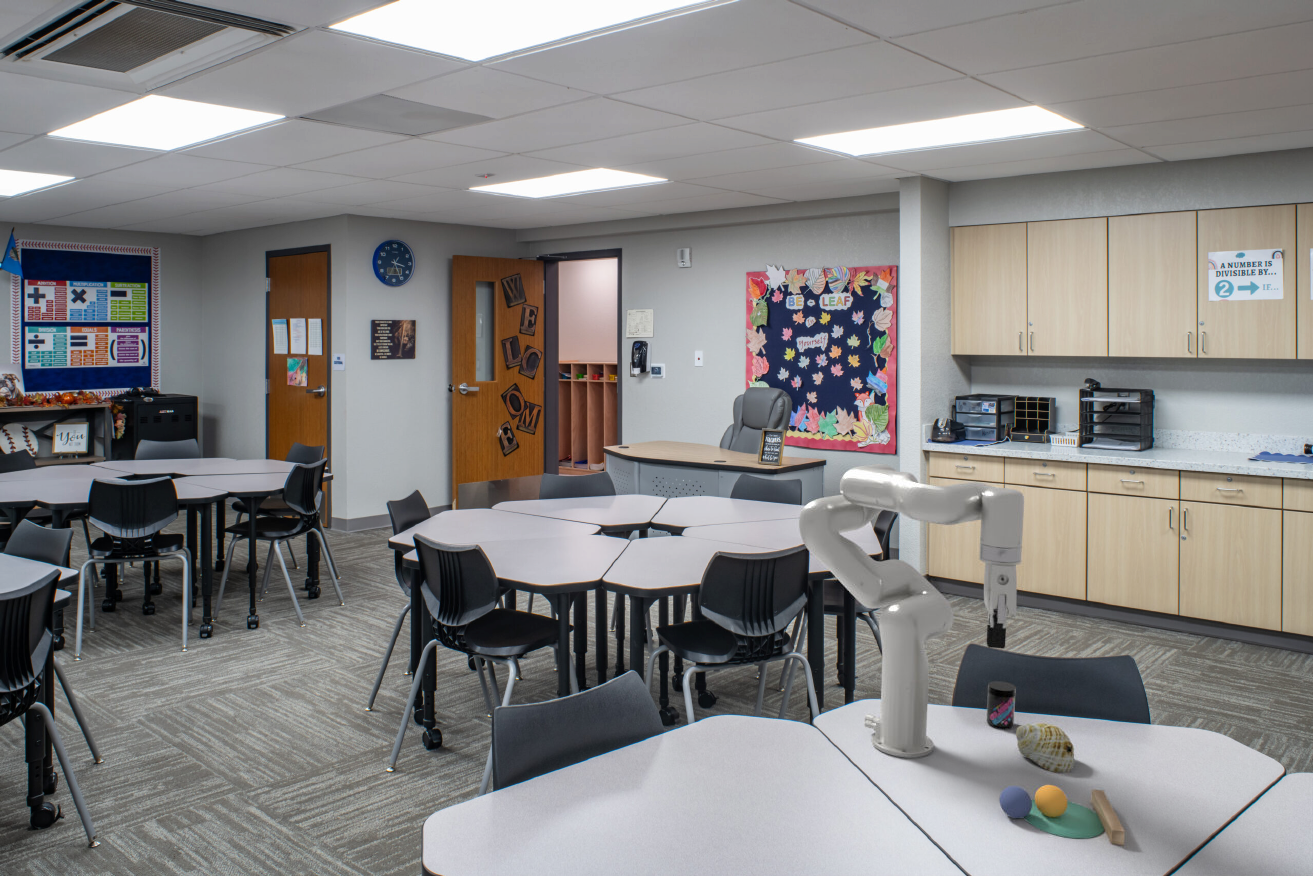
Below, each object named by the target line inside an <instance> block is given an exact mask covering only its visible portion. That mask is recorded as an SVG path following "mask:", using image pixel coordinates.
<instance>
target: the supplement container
mask: <svg viewBox="0 0 1313 876" xmlns="http://www.w3.org/2000/svg"><path fill="white" fill-rule="evenodd" d="M1016 689H1017V687H1016V686H1015V685H1014V684H1012V683H1010V682H1007V681H999V680H998V681H996V680H994V681H990V682H988V684H987V703H986V704H987V705H986V722H987V724H988V726H990V727H992V728H993V729H998V730H1010V729H1011V728H1013V727H1014V725H1015V707H1016V695H1017V693H1016V691H1017V690H1016Z"/></svg>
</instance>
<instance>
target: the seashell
mask: <svg viewBox="0 0 1313 876" xmlns="http://www.w3.org/2000/svg"><path fill="white" fill-rule="evenodd" d="M1015 732H1016V734H1015V736H1016V737H1015V738H1016V741H1017V748H1018V751H1019V752H1020V754H1021V755H1022V756H1023V757H1024V758H1027V759H1030V760H1031V761H1033V762H1034V763H1036V764H1037V765H1038V766H1040V767H1041V768H1043V769H1045V770H1048V771H1050V772H1054V773H1058V772H1061V773H1069V772H1071V771H1073V769H1074V766H1075V762H1076V759H1075V748H1074V745H1073V743H1072V741H1071V738H1069V736H1068V735H1067V734H1066V733H1065V731H1063V729H1061V728H1060V727H1058V726H1056V725H1053V724H1050V723H1046V722H1045V723H1043V722H1040V723H1032V724H1031V723H1028V724H1023V725H1020V726H1018V727H1017V728H1016V731H1015Z"/></svg>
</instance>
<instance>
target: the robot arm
mask: <svg viewBox="0 0 1313 876" xmlns="http://www.w3.org/2000/svg"><path fill="white" fill-rule="evenodd" d="M839 491H840V493H841V494H839V495H832V496H825V497H820V498H817V499H814V500H812V501H810V502H808V503H807V504H806V505H805V506H803V507H802V510H801V511H800V513H799V517H798V529H799V530H798V531H799V533H800V537H801V540H802V542H803V544H804V546H805V547H806V549H807V550H808V551H809V553H810V554H812V555H813V557H814V558H815V559H816V560H818V561H819V562H820V563H821V564H822V565H823V566H824V567H825V568H826V569H827V570H829V571H830V572H831V574H832V575H834V577H835V578H836V579H837V580H838V581H839V582H840V584H842V585H843V587H844V588H845V589H846V590H847V591H849V593H850V594H851V595H852V596H853V597H854V598H855V599H856V601H858V603H860V604H861V605H862V606H863V607H865V608H867V609H873V610H874V609H880V608H884V607H885V608H884V609H883V610H882V612H881V614H880V617H879V621H878V625H879V626H878V628H879V636H880V640H881V641H880V643H881V650H882V652H881V654H882V658H881V665H882V666H881V691H880V692H881V693H880V695H881V697H880V717H876V716H875V715H871V714H866V715H865V717H864V727H865V728H868V729H872V730H873V731H874V733H873V735H872V737H871V742H872V745H873V746H874V747H875V748H876V749H877V750H879V751H880V752H883V753H884V754H887V755H891V756H894V757H899V758H906V759H907V758H908V759H910V758H922V757H925V756H927V755H929V754H931V753H932V752H933V751H934V741H933V740H932V739H931V738H930V736H928V735H927V730H928V729H927V726H928V704H929V703H928V702H929V701H928V699H929V682H930V681H929V677H930V676H929V675H930V674H929V671H930V670H929V669H930V665H929V658H928V655H927V653H926V651H925V650H926V649H925V645H924V644H925V642H927V641H930V640H933V639H936V638H939V637H941V636H943V635H945V634H947V633H948V632H949V631H950V630H951V629H952V626H953V624H954V620H955V619H954V616H955V615H954V611H953V609H952V607H951V604H950V603H949V601H948V600H947V599H946V597H945V596H944V595H943V594H942V593H941V592H940V591H939V590H938V589H937V587H935V586H934V585H933V584H932V583H931V582H930V581H928V580H927V578H925V576H923V574H921V573H920V572H919V571H918V570H917V569H916V568H915V567H914V566H913V565H911V564H909V563H908V562H905V561H904V560H901V559H895V558H893V559H887V560H882V561H877V560H875V559H873V558H872V557H871V556H870V555H869V554H868V553H866V552H865V550H863V548H862V547H861V546H859V545H858V544H857V543H855V542H854V541H852V540H850V539H849V538H847V537H844V536H843V535H842V533H848V532H852V531H857V530H860V529H861V528H863V527H865V526H866V525H867V524H869V523H870V522H871V521H872V520H873V519H874V518H876V516H879V514H881V512H882V511H888V512H889V511H890V512H895V513H901V514H902V515H904V516H905V517H907V518H909V519H911V520H915V521H918V522H919V521H920V522H924V523H930V524H937V525H944V526H955V525H959V524H963V523H968V522H975V521H980V537H979V538H980V539H979V555H978V558H979V561H981V562H982V563H984V574H983V575H984V578H983V602H984V606H985V607H986V610H987V612H988V613H987V614H988V617H987V619H988V620H987V622H988V624H987V626H986V627H987V628H986V645H987V647H988V648H989V649H991V648H993V649H1005V648H1006V639H1007V638H1006V637H1007V635H1006V634H1007V628H1006V626H1007V613H1008V614H1009V615H1010V616H1011V617H1012V618H1013V617H1016V616H1017V590H1018V589H1017V588H1018V587H1017V586H1018V584H1017V581H1018V580H1017V579H1018V578H1017V566H1018V565H1020V564H1021V563H1022V553H1023V552H1022V548H1023V532H1024V514H1025V513H1024V511H1025V510H1024V509H1025V496H1024V494H1023V493H1022V492H1021V491H1020V490H1017V489H1013V488H1007V487H1006V488H1005V487H996V486H991V485H989V484H986V483H982V482H977V481H970V482H964V483H955V484H951V485H934V484H928V483H922V482H921V483H920V482H919V481H918V478H917V477H916V476H915V475H914V474H913V473H910V472H907V471H897V470H896V469H895V468H893V466H890V465H888V464H883V463H877V464H869V465H860V466H855V467H852V468H850V469H849V470H847V471H845V473H844V474H843V475H842V476H841V478H840V483H839Z"/></svg>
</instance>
